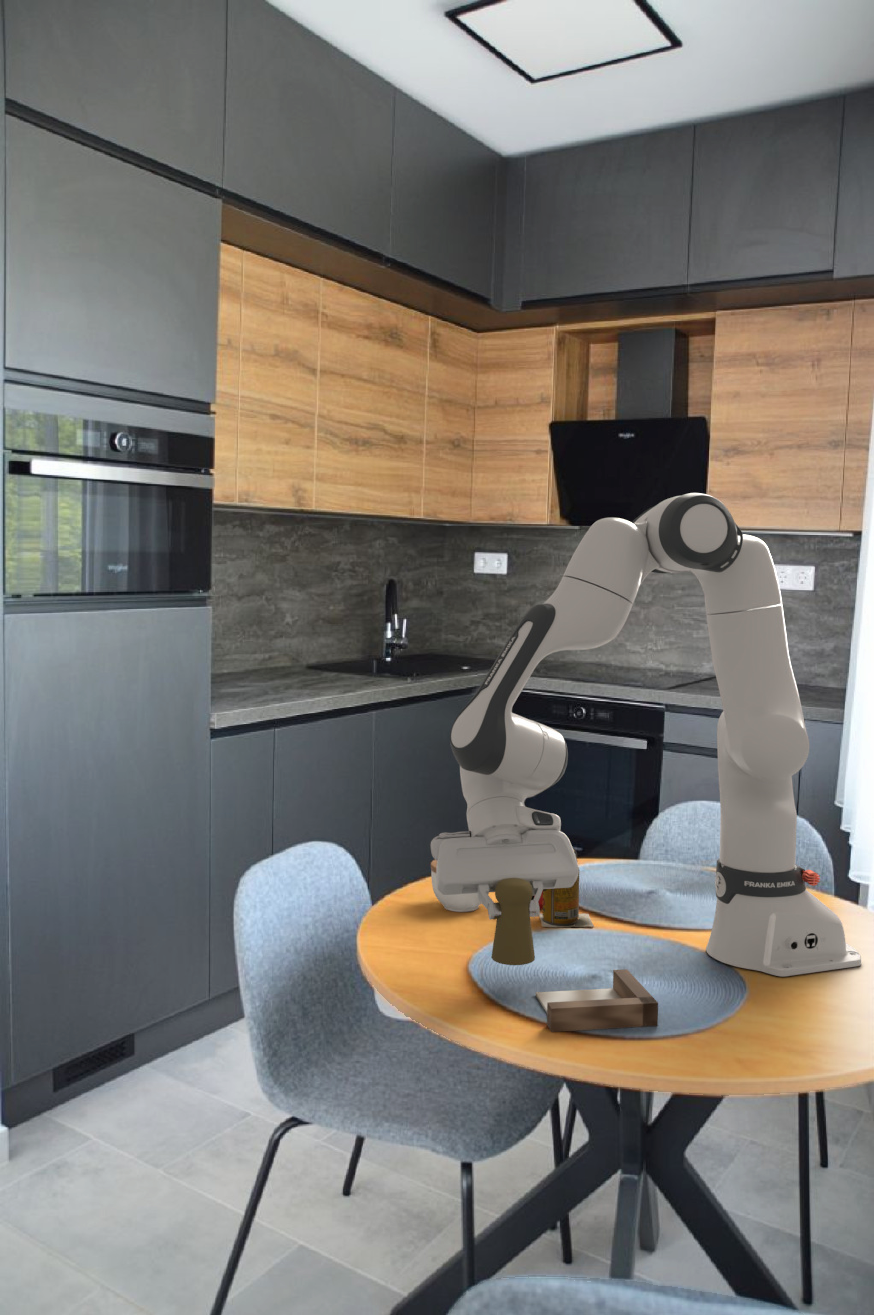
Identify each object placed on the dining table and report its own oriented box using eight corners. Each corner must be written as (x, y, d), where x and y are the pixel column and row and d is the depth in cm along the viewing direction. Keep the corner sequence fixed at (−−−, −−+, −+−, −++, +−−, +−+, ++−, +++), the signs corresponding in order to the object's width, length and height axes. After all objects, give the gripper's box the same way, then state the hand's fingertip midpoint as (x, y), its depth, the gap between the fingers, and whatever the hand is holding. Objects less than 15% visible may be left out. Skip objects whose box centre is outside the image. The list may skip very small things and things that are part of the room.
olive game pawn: (536, 965, 145) (537, 886, 145) (492, 965, 146) (492, 885, 145) (533, 950, 151) (534, 874, 151) (490, 950, 152) (491, 873, 151)
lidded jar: (504, 908, 186) (505, 855, 185) (457, 920, 179) (458, 865, 178) (464, 894, 194) (465, 843, 193) (417, 905, 187) (418, 852, 186)
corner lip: (626, 990, 148) (627, 969, 148) (657, 1025, 137) (658, 1003, 136) (528, 995, 146) (528, 974, 146) (551, 1032, 134) (551, 1008, 134)
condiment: (538, 914, 183) (539, 845, 182) (588, 914, 183) (589, 845, 182) (542, 928, 175) (543, 856, 174) (594, 928, 175) (595, 856, 174)
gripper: (430, 822, 153) (442, 909, 144) (569, 815, 156) (590, 900, 147) (427, 845, 157) (438, 932, 148) (562, 838, 160) (581, 922, 151)
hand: (514, 916), depth 147 cm, fingers closed on olive game pawn, 4 cm apart
